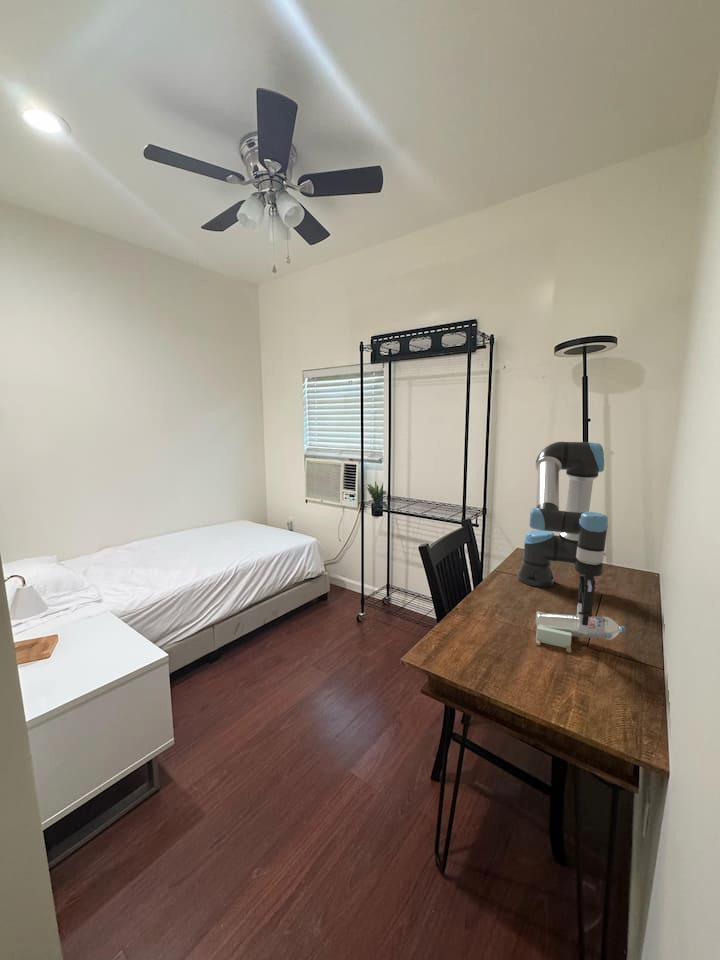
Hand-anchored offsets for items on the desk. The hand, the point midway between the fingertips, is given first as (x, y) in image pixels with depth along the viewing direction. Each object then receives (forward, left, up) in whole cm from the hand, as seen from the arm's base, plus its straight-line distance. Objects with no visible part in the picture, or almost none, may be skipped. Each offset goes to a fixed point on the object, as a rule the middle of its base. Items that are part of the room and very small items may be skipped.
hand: (581, 627), depth 126 cm
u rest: (-4, -7, -5) cm, 10 cm away
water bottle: (-7, -11, -2) cm, 13 cm away
